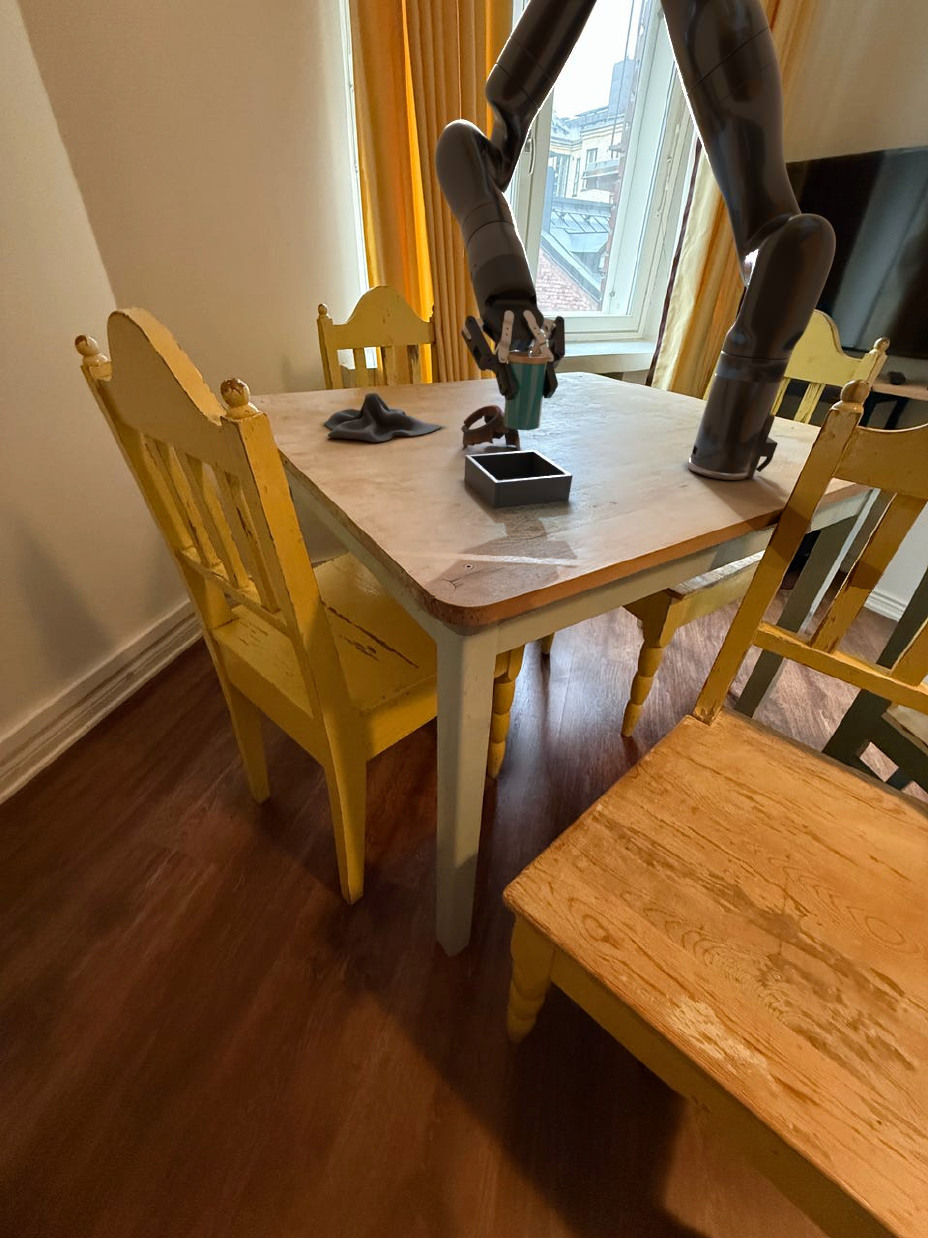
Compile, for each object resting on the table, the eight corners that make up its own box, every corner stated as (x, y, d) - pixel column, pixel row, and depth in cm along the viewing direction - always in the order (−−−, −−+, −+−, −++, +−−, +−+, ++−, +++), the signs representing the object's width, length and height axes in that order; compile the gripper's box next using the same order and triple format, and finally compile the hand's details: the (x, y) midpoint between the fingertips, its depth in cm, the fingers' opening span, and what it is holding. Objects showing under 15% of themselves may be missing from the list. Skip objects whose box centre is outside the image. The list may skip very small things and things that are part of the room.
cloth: (334, 447, 88) (330, 408, 84) (312, 419, 101) (307, 385, 98) (454, 435, 96) (455, 400, 92) (418, 411, 110) (418, 380, 106)
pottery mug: (525, 463, 86) (506, 420, 81) (473, 481, 90) (452, 442, 84) (525, 425, 94) (507, 384, 88) (478, 444, 97) (458, 405, 92)
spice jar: (538, 421, 71) (546, 351, 66) (542, 431, 67) (550, 358, 62) (502, 419, 71) (507, 350, 66) (503, 429, 67) (508, 356, 62)
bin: (532, 475, 80) (535, 449, 78) (568, 503, 71) (572, 475, 69) (464, 482, 76) (465, 455, 74) (493, 512, 68) (495, 482, 66)
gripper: (455, 248, 61) (487, 378, 59) (561, 253, 66) (595, 374, 63) (441, 297, 68) (469, 415, 66) (538, 298, 73) (568, 409, 70)
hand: (531, 394), depth 65 cm, fingers closed on spice jar, 5 cm apart
